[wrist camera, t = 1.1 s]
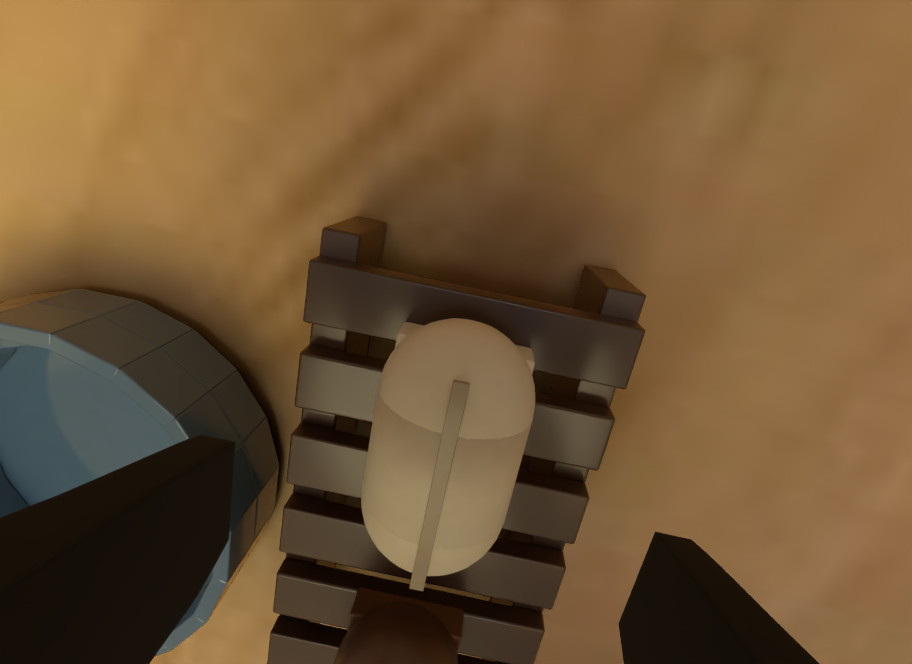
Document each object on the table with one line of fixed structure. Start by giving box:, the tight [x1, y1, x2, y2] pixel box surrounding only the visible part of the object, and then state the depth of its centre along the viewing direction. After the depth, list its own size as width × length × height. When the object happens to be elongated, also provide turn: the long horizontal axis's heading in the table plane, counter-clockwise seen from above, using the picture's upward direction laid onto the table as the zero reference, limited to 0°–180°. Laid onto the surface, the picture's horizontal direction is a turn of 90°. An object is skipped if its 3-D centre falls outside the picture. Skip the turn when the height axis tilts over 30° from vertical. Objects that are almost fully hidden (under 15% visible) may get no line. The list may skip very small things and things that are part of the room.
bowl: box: [0, 289, 279, 656], centre depth 17 cm, size 12×12×4 cm
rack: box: [267, 217, 646, 664], centre depth 16 cm, size 15×8×4 cm, turn 169°
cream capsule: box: [361, 318, 535, 591], centre depth 11 cm, size 6×3×3 cm, turn 169°
